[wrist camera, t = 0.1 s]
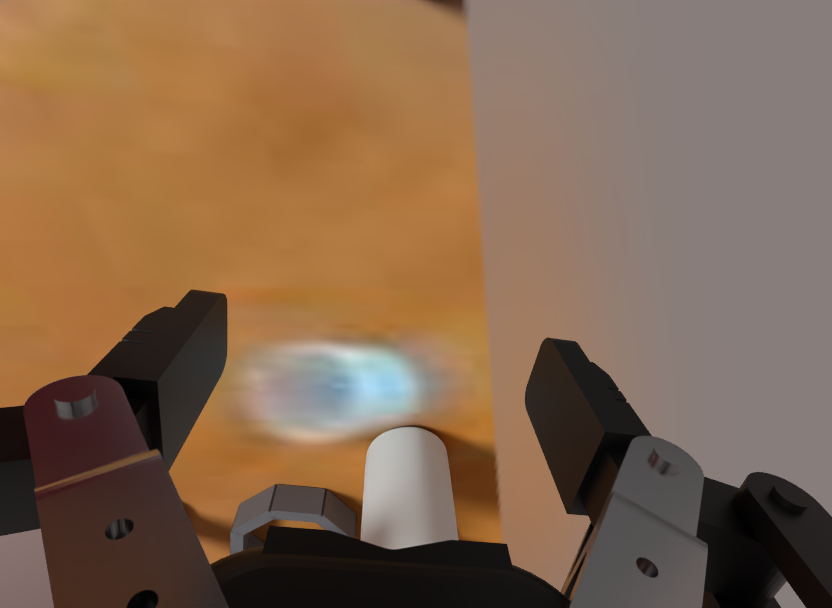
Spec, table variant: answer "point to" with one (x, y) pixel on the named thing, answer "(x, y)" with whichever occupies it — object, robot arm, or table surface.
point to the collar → (290, 513)
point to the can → (407, 490)
